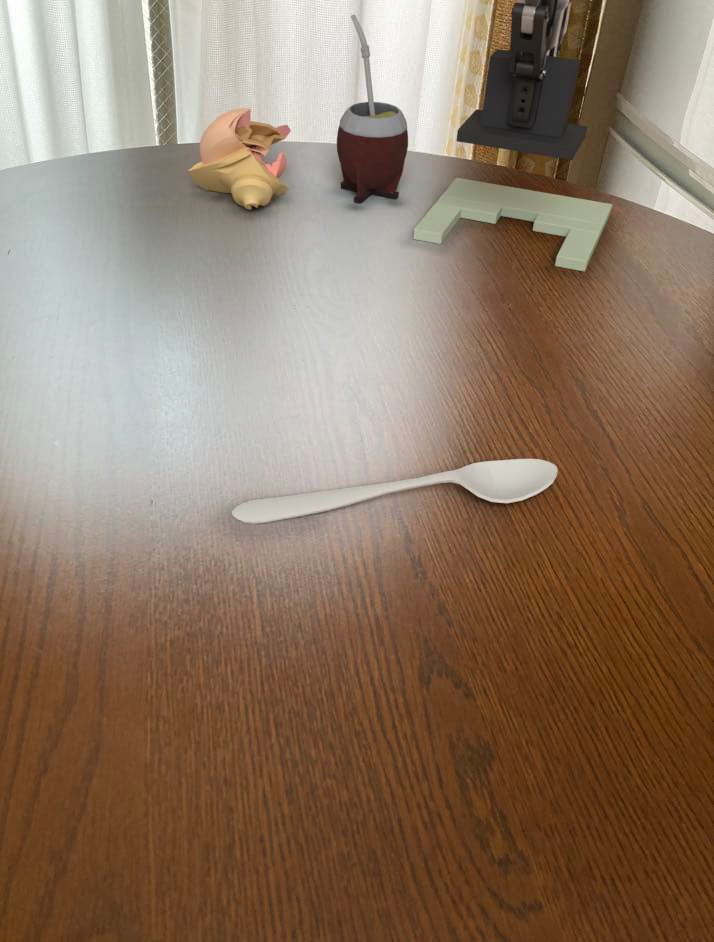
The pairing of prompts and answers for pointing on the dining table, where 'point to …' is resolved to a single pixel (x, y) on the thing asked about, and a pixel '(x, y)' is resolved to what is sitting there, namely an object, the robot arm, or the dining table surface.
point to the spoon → (482, 479)
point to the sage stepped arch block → (520, 216)
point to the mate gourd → (371, 141)
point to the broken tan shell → (240, 159)
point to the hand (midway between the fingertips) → (525, 119)
